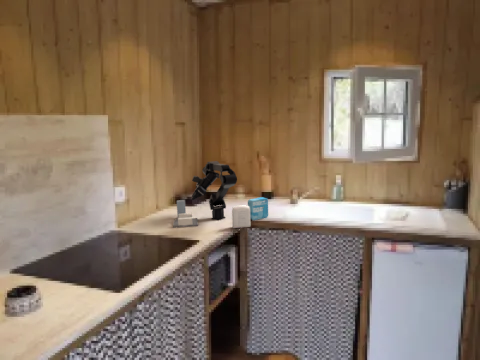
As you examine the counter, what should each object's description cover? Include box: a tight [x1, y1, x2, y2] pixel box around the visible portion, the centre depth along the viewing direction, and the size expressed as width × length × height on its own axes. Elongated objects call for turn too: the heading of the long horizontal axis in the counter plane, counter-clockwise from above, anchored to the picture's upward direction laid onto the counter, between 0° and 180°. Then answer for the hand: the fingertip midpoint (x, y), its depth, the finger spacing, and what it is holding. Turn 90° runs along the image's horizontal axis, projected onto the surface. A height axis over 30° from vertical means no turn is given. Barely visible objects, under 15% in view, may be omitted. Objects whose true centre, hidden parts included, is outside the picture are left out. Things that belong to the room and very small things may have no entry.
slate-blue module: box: [176, 199, 187, 219], centre depth 238 cm, size 5×4×11 cm
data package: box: [247, 196, 269, 221], centre depth 231 cm, size 12×4×12 cm, turn 123°
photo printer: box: [231, 204, 251, 229], centre depth 214 cm, size 10×4×12 cm, turn 101°
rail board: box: [172, 212, 199, 228], centre depth 225 cm, size 14×15×4 cm
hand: (192, 198), depth 237 cm, fingers open, 9 cm apart
